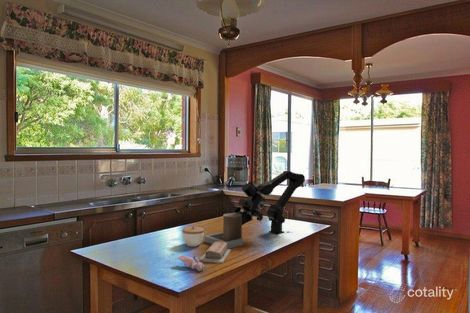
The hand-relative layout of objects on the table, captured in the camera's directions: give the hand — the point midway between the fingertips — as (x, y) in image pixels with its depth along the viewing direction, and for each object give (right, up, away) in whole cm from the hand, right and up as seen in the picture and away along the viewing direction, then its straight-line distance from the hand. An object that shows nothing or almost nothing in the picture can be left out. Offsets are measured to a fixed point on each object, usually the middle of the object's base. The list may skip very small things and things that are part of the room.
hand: (239, 225), depth 180 cm
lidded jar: (-23, -7, -10) cm, 26 cm away
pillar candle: (-4, -7, -3) cm, 9 cm away
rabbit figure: (-20, -9, -43) cm, 48 cm away
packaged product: (-11, -9, -27) cm, 30 cm away
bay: (-7, -7, -7) cm, 12 cm away
